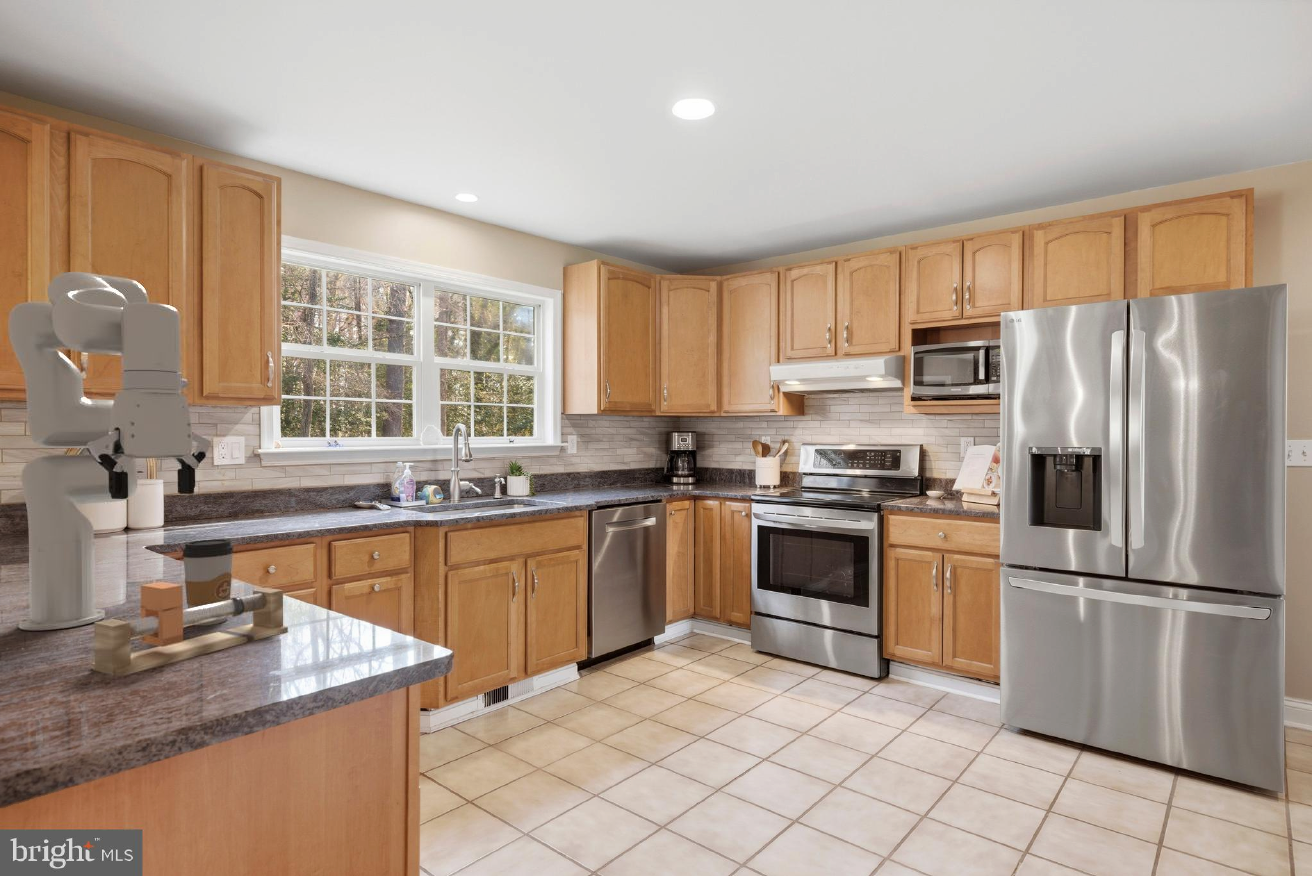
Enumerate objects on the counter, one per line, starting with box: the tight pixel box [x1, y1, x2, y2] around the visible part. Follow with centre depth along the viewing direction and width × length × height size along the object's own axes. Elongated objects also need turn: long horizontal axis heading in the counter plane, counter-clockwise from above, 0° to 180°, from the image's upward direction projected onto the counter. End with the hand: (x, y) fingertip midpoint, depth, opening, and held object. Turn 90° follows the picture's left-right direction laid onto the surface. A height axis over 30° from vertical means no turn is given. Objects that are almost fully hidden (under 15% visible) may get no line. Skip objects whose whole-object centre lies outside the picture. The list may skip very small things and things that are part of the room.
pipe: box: [125, 593, 267, 640], centre depth 121 cm, size 25×3×3 cm, turn 152°
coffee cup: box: [181, 538, 235, 626], centre depth 138 cm, size 8×8×15 cm
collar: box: [140, 581, 184, 647], centre depth 116 cm, size 3×6×9 cm, turn 63°
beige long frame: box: [90, 587, 289, 677], centre depth 121 cm, size 27×8×7 cm, turn 152°
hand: (154, 496), depth 112 cm, fingers open, 9 cm apart
